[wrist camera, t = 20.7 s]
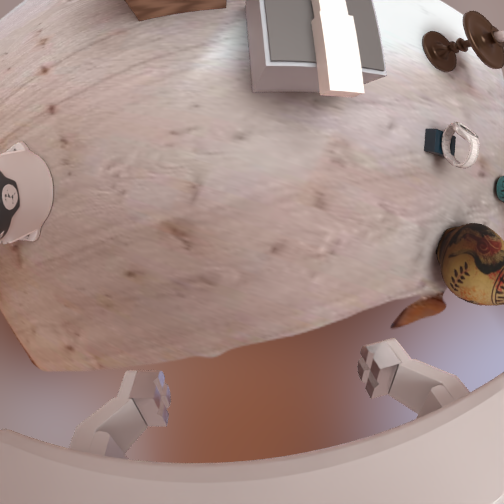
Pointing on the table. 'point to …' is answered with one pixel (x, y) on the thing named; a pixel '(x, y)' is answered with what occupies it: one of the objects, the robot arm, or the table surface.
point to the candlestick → (467, 44)
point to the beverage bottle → (500, 188)
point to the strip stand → (170, 7)
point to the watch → (452, 143)
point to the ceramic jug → (473, 263)
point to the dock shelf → (302, 44)
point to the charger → (336, 49)
